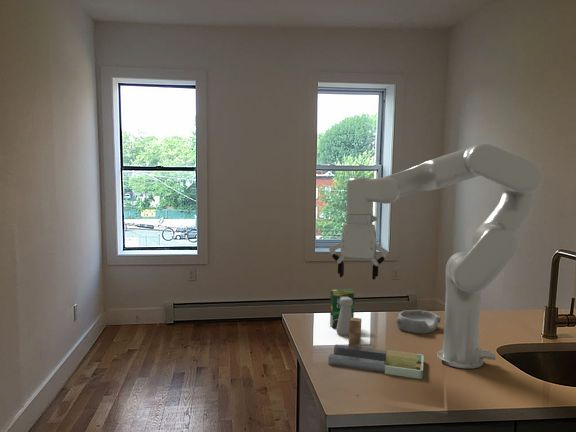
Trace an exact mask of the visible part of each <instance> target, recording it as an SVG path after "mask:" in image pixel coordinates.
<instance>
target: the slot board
mask: <svg viewBox="0 0 576 432" xmlns="http://www.w3.org/2000/svg"><path fill="white" fill-rule="evenodd" d="M333 348H334V349H333V353H332V354H331V353H330V354H329V355H328V358H327V359H328V362H327V364H328V365H333V366H339V367H346V368H354V369H358V370H359V369H360V370H367V371H373V372H382V373H385V365H386V354H387V351H388V350H382V349H373V348H367V347H361V348H359V347H351V346H348V345H345V344H344V345H342V344H335V345H334V346H333Z"/></svg>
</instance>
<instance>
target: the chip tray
mask: <svg viewBox="0 0 576 432" xmlns="http://www.w3.org/2000/svg"><path fill="white" fill-rule="evenodd" d="M399 352H401V351H399ZM416 354H417V363H418V362H419V363H420V369H417V370H416V369H409V368H401V367H394V366H387V365H386V364H385V368H384V374H385V375H391V376H399V377H406V378H412V379H421V380H423V376H424V356H425V355H424V354H423V353H422V354H421V353H416Z"/></svg>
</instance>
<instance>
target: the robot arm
mask: <svg viewBox="0 0 576 432" xmlns="http://www.w3.org/2000/svg"><path fill="white" fill-rule="evenodd" d="M480 176H481V177H483V178H485V179H487V180H489V181H491V182H493V183H496V184H498V185H500V188H501V197H500V200H499V201H498V203H497V205H496V206H495V208H494V209H493V210H492V212H490V214H489V215H488V216H487V218H485V220H484V221H483V222H482V223H481V224H480V226H479V227H477V228H476V230H475V231H474V232H473V234H472V239H471V240H472V245H473V247H471V249H470V250H469V251H459V252H458V251H457V252H456V253H454V254H452V255H451V256H450V257H449V258H448V260H447V263H446V265H445V302H444V303H445V305H444V318H443V319H444V322H443V337H442V349H440V350H438V351H437V352H436V356H437V357H438V358H439V359H440V360H441V363H443V364H444V365H447V366H450V367H454V368H458V369H467V370H470V369H477V368H481V367H482V366H483V365H484V359H486V360H492V361H496V358H497V357H496V356H497V355H496V352H491V351H490V350H488V349H482V348H480V345H479V337H480V323H481V322H480V319H481V310H482V309H481V307H482V291H484V290H485V289H486V288H488V286H490V285H491V284H492V283H493V281H495V280H496V278H497V277H498V276H499V274H500V273H501V272H502V271H503V270H504V269H505V268H506V267H507V265H508V264H509V263H510V262H511V260H512V259H513V258H514V256H515V255H516V253H517V251H518V250H517V249H518V238H517V236H516V234H518V232H519V231H520V229H521V228H522V226H524V224H525V223H526V222H527V220H528V219H529V217H530V216H531V213H532V212H533V207H534V203H535V198H534V197H535V193H534V192H535V191H537V190H538V189H539V188H540V187H541V185H543V182H544V172H543V170H542V169H541V167H540V166H539V165H538V164H537V163H535V162H533V161H532V160H529V159H526V158H525V157H522V156H520V155H516V154H514V153H512V152H509V151H507V150H505V149H502V148H500V147H497V146H495V145H492V144H489V143H479V144H475V145H472V146H469V147H466V148H462V149H459V150H457V151H454V152H450V153H448V154H444V155H441V156H438V157H435V158H433V159H429V160H426V161H424V162H423V163H419V164H418V165H415V166H412V167H410V168H408V169H404V170H400V171H399V172H396V173H393V174H390V175H386V176H383V177H379V178H369V177H351V178H348V179H347V182H346V208H345V209H346V216H345V218H346V220H345V223H343V227H342V234H341V241H340V242H339V243H337V244H335V245H332V246H331V247H329V252H330V255H331V257H332V258H333V259H334V260H335V262H336V263H337V274H339V278H343V277H344V276H345V262H344V260H345V259H356V260H358V259H359V260H370V261H371V262H372V264H373V265H372V280H373V281H375V280H376V277H378V276H379V265H381V264H382V263H383V262H384V261H385V259H386V258H387V256H388V254H389V250H387V249H386V248H384V247H382V246H380V245H379V244H377V230H376V225H375V224H373V222H378V216H374V214H373V203H378V204H379V203H380V204H386V205H387V204H392V203H394V202H396V201H397V200H398V199H400V198H403V197H406V196H410V195H413V194H416V193H420V192H425V191H435V190H439V189H442V188H446V187H449V186H451V185H454V184H458V183H461V182H464V181H467V180H470V179H473V178H476V177H477V178H478V177H480ZM338 249H340V256H339V255H338V254H337V252H336V250H338ZM377 251H378V252H380V253H381V256H380V257H379V258H377V257H376V256H377Z"/></svg>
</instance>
